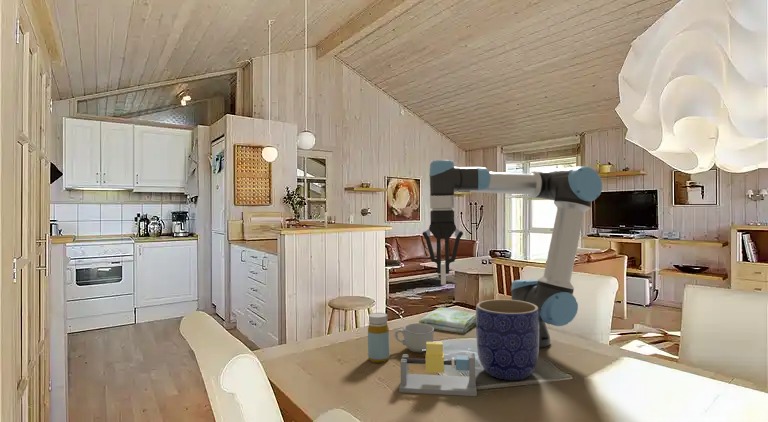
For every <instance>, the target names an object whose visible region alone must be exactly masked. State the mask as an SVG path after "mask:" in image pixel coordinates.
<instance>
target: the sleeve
mask: <svg viewBox="0 0 768 422" xmlns="http://www.w3.org/2000/svg"><path fill="white" fill-rule="evenodd" d="M424 359H426V364H425V373H437V374H444V373H445V365H444V360H445V351H444V343H443V341H433V342H427V343H426V352H425V358H424Z"/></svg>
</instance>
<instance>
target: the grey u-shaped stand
mask: <svg viewBox="0 0 768 422" xmlns="http://www.w3.org/2000/svg"><path fill="white" fill-rule="evenodd" d="M475 355H476V354H475V353H474V352H468V355H455V357H453V356H452V357H451V359H444V366H451V368H452V369H455V371H465V372H466V371H468V376H464V375H463V376H461V375H443V374H442V375H441V374H440V375H439V374H437V375H436V374H421V373H418V374H417V373H409V372H410V370H409V367H410V366H409V365H410V364H413V365H426V358H411V357H409V354H406V353H405V354H404V353H403V354H402V356H401V359H400V384H399V387H398V389H399V390H398V392H399V393H405V394H406V393H410V394H426V395H427V394H428V395H444V396H445V395H448V396H462V397H463V396H465V397H466V396H467V397H477V395H478V392H477V381H476V356H475Z"/></svg>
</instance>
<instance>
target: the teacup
mask: <svg viewBox="0 0 768 422" xmlns="http://www.w3.org/2000/svg"><path fill="white" fill-rule="evenodd" d="M434 331H435V329H434V328H433V327H432V326H430V325H427V324H421V323H419V322H417V323H416V322H415V323H409V324H406V325H405V326H403V328H398V329H396V331H395V332H394V337H395V339H396V340H397V342H398V343H401V344H402V345H403V346H405V347H406V348H408V350H409V351H411V352H413V353H423V352H422V349H426V343H427V342H434ZM400 333H401V334H402V336H403V339H401V338H399V337H398V335H399V334H400Z"/></svg>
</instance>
